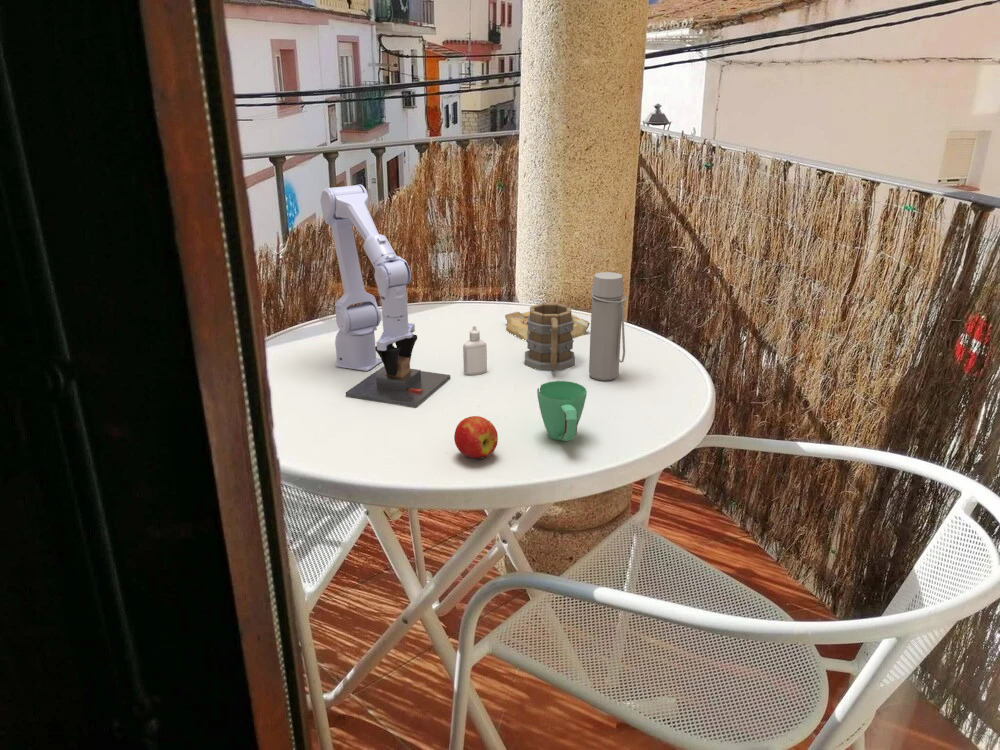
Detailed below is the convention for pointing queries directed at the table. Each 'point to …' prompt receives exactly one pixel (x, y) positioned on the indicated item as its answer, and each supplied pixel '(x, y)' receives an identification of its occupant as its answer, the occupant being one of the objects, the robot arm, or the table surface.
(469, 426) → the apple
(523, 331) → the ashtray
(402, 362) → the walnut post
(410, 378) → the dark grey stepped base
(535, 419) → the table surface
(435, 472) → the table surface
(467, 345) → the eye dropper bottle
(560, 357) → the tankard
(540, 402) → the mug
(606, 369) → the water bottle
